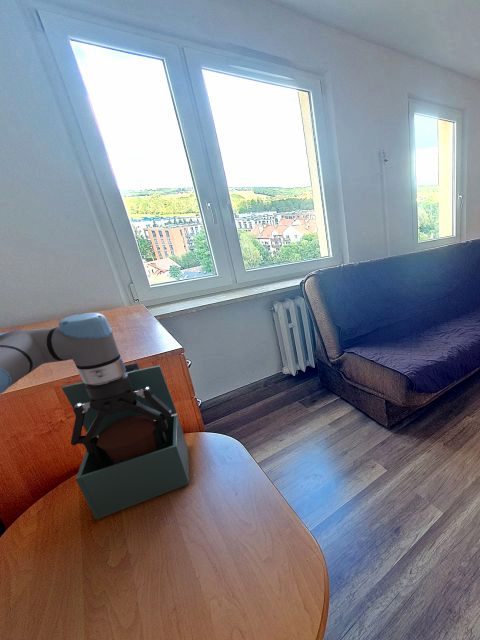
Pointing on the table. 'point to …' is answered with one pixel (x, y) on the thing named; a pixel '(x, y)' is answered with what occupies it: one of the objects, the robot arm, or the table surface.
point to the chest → (135, 474)
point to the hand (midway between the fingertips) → (134, 450)
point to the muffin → (128, 438)
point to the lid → (138, 381)
